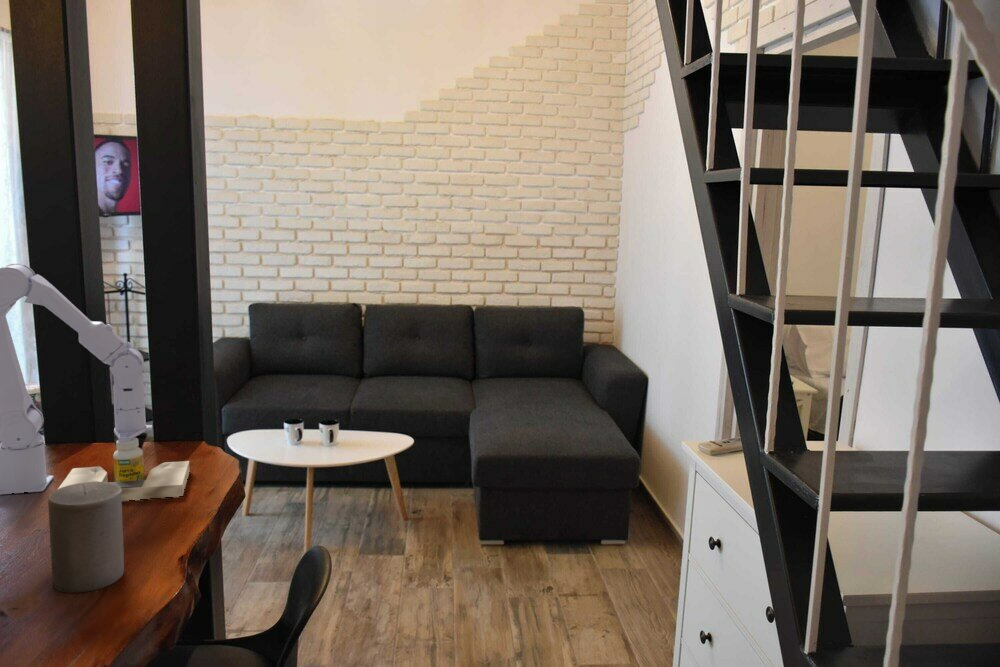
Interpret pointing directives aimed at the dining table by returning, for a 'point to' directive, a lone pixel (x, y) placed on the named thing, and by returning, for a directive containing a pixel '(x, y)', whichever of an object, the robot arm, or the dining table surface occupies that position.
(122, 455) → the supplement bottle
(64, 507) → the pillar candle
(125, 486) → the jig block
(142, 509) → the dining table surface
